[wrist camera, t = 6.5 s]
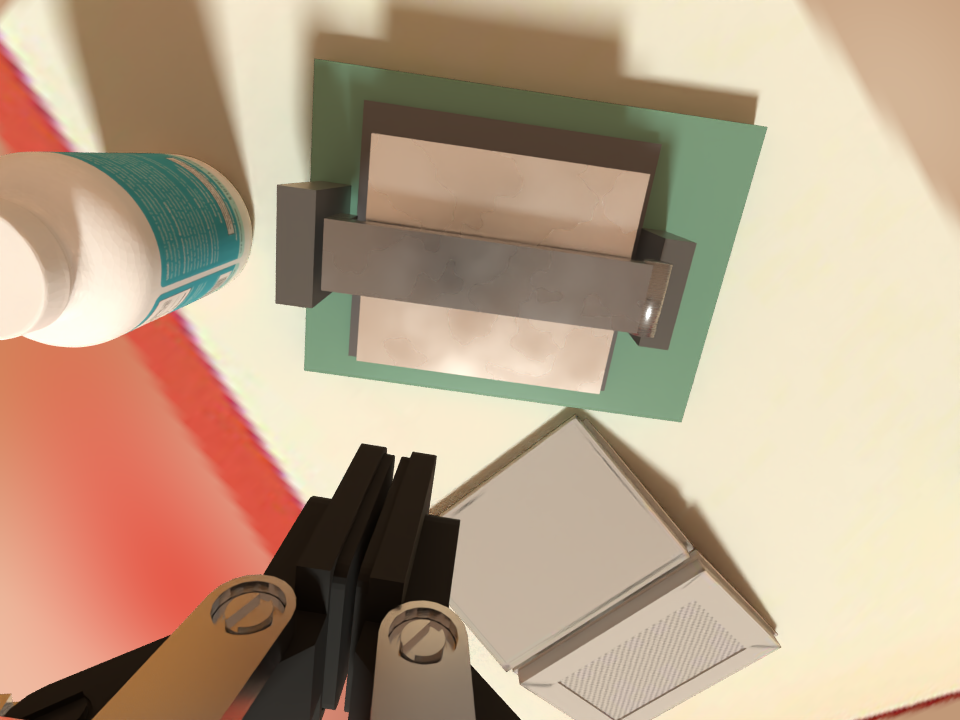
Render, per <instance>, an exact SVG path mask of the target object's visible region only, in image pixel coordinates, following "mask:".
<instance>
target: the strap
mask: <svg viewBox="0 0 960 720" xmlns="http://www.w3.org/2000/svg"><path fill="white" fill-rule="evenodd" d="M672 267H673V264H671V263H668V262H665V261H660V260H654V259H644V261H642V260H635V259H628V258H621V257H614V256H607V255H600V254H593V253H586V252H579V251H572V250H565V249H558V248H551V247H544V246H537V245H530V244H523V243H516V242H509V241H502V240H495V239H488V238H481V237H474V236H467V235H460V234H453V233H446V232H439V231H432V230H425V229H418V228H411V227H404V226H397V225H389V224H382V223H375V222H368V221H361V220H358V215H351V214H344V213H338V214H335V215H332V216H329V217H326V218H324V231H323V255H322V279H321V290H322V291H329V292H337V293H344V294H351V295H358V296H366V297H373V298H380V299H388V300H395V301H402V302H409V303H417V304H424V305H431V306H438V307H446V308H453V309H460V310H468V311H475V312H482V313H489V314H497V315H504V316H511V317H518V318H526V319H533V320H540V321H548V322H555V323H562V324H569V325H577V326H584V327H591V328H598V329H606V330H613V331H620V332H628V333H630V334H632V335H635V336H638V337H643V338H654V336H655V333H656V329H657V325H658V321H659V317H660V313H661V309H662V305H663V302H664V298H665V294H666V290H667V286H668V282H669V278H670V274H671V271H672Z"/></svg>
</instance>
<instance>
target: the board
mask: <svg viewBox="0 0 960 720" xmlns="http://www.w3.org/2000/svg"><path fill="white" fill-rule="evenodd" d="M766 130H767V127H764V126H758V125H751V124H744V123H738V122H731V121H724V120H718V119H711V118H705V117H698V116H691V115H685V114H678V113H671V112H665V111H658V110H652V109H645V108H638V107H632V106H625V105H618V104H612V103H605V102H599V101H592V100H585V99H579V98H572V97H566V96H559V95H552V94H546V93H539V92H532V91H526V90H519V89H513V88H506V87H499V86H493V85H486V84H479V83H473V82H466V81H460V80H453V79H446V78H440V77H433V76H426V75H420V74H413V73H407V72H400V71H393V70H387V69H380V68H374V67H367V66H360V65H354V64H347V63H340V62H334V61H327V60H321V59H314V87H313V117H312V148H311V179H310V182H301V183H291V184H280V185H277V229H276V304H284V305H291V306H298V307H305V308H306V332H305V362H304V370H305V371H312V372H319V373H327V374H334V375H341V376H348V377H356V378H363V379H370V380H377V381H385V382H392V383H399V384H406V385H414V386H421V387H428V388H435V389H443V390H450V391H457V392H465V393H472V394H479V395H486V396H494V397H501V398H508V399H515V400H523V401H530V402H537V403H544V404H552V405H559V406H566V407H573V408H581V409H588V410H595V411H603V412H610V413H617V414H624V415H632V416H639V417H646V418H653V419H661V420H668V421H675V422H682V418H683V415H684V412H685V408H686V405H687V401H688V398H689V394H690V391H691V388H692V384H693V381H694V377H695V374H696V370H697V367H698V364H699V360H700V357H701V353H702V350H703V346H704V343H705V340H706V336H707V333H708V329H709V326H710V322H711V319H712V316H713V312H714V309H715V305H716V302H717V298H718V295H719V292H720V288H721V285H722V281H723V278H724V274H725V271H726V268H727V264H728V261H729V257H730V254H731V250H732V247H733V244H734V240H735V237H736V233H737V230H738V226H739V223H740V220H741V216H742V213H743V209H744V206H745V202H746V199H747V196H748V192H749V189H750V185H751V182H752V178H753V175H754V172H755V168H756V165H757V161H758V158H759V154H760V151H761V148H762V144H763V141H764V137H765V134H766ZM338 213H344V214H351V215H358V220H361V221H368V222H375V223H382V224H389V225H397V226H404V227H411V228H418V229H425V230H432V231H439V232H446V233H453V234H460V235H467V236H474V237H481V238H488V239H495V240H502V241H509V242H516V243H523V244H530V245H537V246H544V247H551V248H558V249H565V250H572V251H579V252H586V253H593V254H600V255H607V256H614V257H621V258H628V259H635V260H642V261H644V259H654V260H660V261H665V262H668V263H671V264H673V267H672V271H671V274H670V278H669V282H668V286H667V290H666V294H665V298H664V302H663V305H662V309H661V313H660V317H659V321H658V325H657V329H656V333H655V336H654V338H643V337H638V336H635V335H632V334H630V333H628V332H620V331H613V330H606V329H598V328H591V327H584V326H577V325H569V324H562V323H555V322H548V321H540V320H533V319H526V318H518V317H511V316H504V315H497V314H489V313H482V312H475V311H468V310H460V309H453V308H446V307H438V306H431V305H424V304H417V303H409V302H402V301H395V300H388V299H380V298H373V297H366V296H358V295H351V294H344V293H337V292H329V291H322V290H321V279H322V255H323V231H324V218H326V217H329V216H332V215H335V214H338Z"/></svg>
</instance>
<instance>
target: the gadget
mask: <svg viewBox="0 0 960 720" xmlns="http://www.w3.org/2000/svg"><path fill="white" fill-rule="evenodd" d="M439 516H441V517H447V518H453V519H459V520H460V528H459V535H458V543H457V550H456V557H455V565H454V572H453V579H452V587H451V594H450V601H449V605H450V607H451V608H452V609H453V610H454V611H455V612H456V614H457V615H458V616H459V617H460V618H461V620H462V621H463V622H464V623H465V624H466V625H467V627H468V628H469V629H470V630H471V631H472V632H473V634H474V635H475V636H476V637H477V638H478V639H479V641H480V642H481V643H482V644H483V645H484V646H485V648H486V649H487V650H488V651H489V652H490V653H491V655H492V656H493V657H494V658H495V659H496V661H497V662H498V663H499V664H500V665H501V666H502V668H503V669H504V670H505V671H506V672H508V671H509V670H511V669H513V672H514V673H516V674H517V675H518V677H519V683H520V685H521V686H523V687H525V688H526V689H528V690H529V691H531V692H532V693H534V694H535V695H537V696H538V697H540V698H542V699H543V700H545V701H546V702H548V703H549V704H551V705H552V706H554V707H556V708H557V709H559V710H560V711H562V712H563V713H565V714H566V715H568V716H569V717H571V718H573V719H574V720H652V719H653V718H655V717H657V716H659V715H661V714H662V713H664V712H666V711H668V710H670V709H671V708H673V707H675V706H677V705H678V704H680V703H682V702H684V701H686V700H687V699H689V698H691V697H693V696H695V695H696V694H698V693H700V692H702V691H704V690H705V689H707V688H709V687H711V686H713V685H714V684H716V683H718V682H720V681H722V680H723V679H725V678H727V677H729V676H731V675H732V674H734V673H736V672H738V671H740V670H741V669H743V668H745V667H747V666H749V665H750V664H752V663H754V662H756V661H757V660H759V659H761V658H763V657H765V656H766V655H768V654H770V653H772V652H774V651H775V650H777V649H779V648H781V646H780V644H779V643H778V641H777V640H776V638H775V636H777V635H778V634H777V633H776V632H775V631H774V630H773V629H772V628H771V626H770V625H769V624H768V623H767V622H766V621H765V620H764V618H763V617H762V616H761V615H760V614H759V613H758V612H757V611H756V610H755V609H754V608H753V607H752V606H751V605H750V604H749V603H748V602H747V601H746V600H745V599H744V598H743V597H742V596H741V595H740V594H739V593H738V592H737V591H736V589H735V588H734V587H733V586H732V585H731V584H730V583H729V582H728V581H727V580H726V579H725V578H724V577H723V576H722V575H721V574H720V573H719V572H718V571H717V570H716V569H715V568H714V567H713V566H712V565H711V564H710V563H709V562H708V561H707V560H706V559H705V558H704V557H703V556H702V555H701V554H700V553H699V552H698V551H697V549H696V550H694V551H692V552H691V553H689V552H690V551H691V550H693V549H694V547H693V545H692V544H691V543H690V541H689V540H688V539H687V538H686V536H685V535H684V534H683V533H682V532H681V530H680V529H679V528H678V527H677V526H676V524H675V523H674V522H673V521H672V520H671V518H670V517H669V516H668V515H667V513H666V512H665V511H664V510H663V509H662V507H661V506H660V505H659V504H658V503H657V501H656V500H655V499H654V498H653V496H652V495H651V494H650V493H649V492H648V490H647V489H646V488H645V487H644V486H643V484H642V483H641V482H640V481H639V479H638V478H637V477H636V476H635V475H634V473H633V472H632V471H631V470H630V469H629V467H628V466H627V465H626V464H625V463H624V461H623V460H622V459H621V458H620V456H619V455H618V454H617V453H616V452H615V450H614V449H613V448H612V447H611V446H610V444H609V443H608V442H607V441H606V440H605V439H604V437H603V436H602V435H601V434H600V433H599V432H598V431H597V430H596V428H595V427H594V426H593V425H592V424H591V423H590V422H589V420H588V419H587V418H586V419H585V420H583V421H581V420H580V419H579V418H578V416H577V415H576V414H575V415H574V416H572V417H571V418H570V419H568V420H567V421H566V422H564V423H563V424H562V425H560V426H559V427H558V428H556V429H555V430H553V431H552V432H551V433H549V434H548V435H547V436H545V437H544V438H543V439H541V440H540V441H539V442H537V443H536V444H535V445H533V446H532V447H531V448H529V449H528V450H527V451H525V452H524V453H522V454H521V455H520V456H518V457H517V458H516V459H514V460H513V461H512V462H510V463H509V464H508V465H506V466H505V467H504V468H502V469H501V470H500V471H498V472H497V473H496V474H494V475H493V476H491V477H490V478H489V479H487V480H486V481H485V482H483V483H482V484H481V485H479V486H478V487H477V488H475V489H474V490H473V491H471V492H470V493H469V494H467V495H466V496H465V497H463V498H462V499H460V500H459V501H458V502H456V503H455V504H454V505H452V506H451V507H450V508H448V509H447V510H446V511H444V512H443V513H442V514H440V515H439Z"/></svg>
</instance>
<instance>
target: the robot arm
mask: <svg viewBox="0 0 960 720" xmlns="http://www.w3.org/2000/svg"><path fill="white" fill-rule="evenodd" d="M436 458H437V456H436V455H430V454H424V453H418V452H412V454H411V457H410V458H408V457H401V460H400V463H399V465H398V468H397V471H396V473H395V476H394V479H393V471H394V463H395V455H389V454H387V448H386V447H381V446H374V445H368V444H361V445H360V447H359V449H358V451H357V453H356V455H355V456H354V458H353V460H352V462H351V464H350V466H349V468H348V470H347V471H346V473H345V475H344V477H343V479H342V481H341V483H340V484H339V486H338V488H337V490H336V492H335V494H334V496H333V498H332V499H329V498H323V497H317V496H312V497H311V498H310V499H309V500H308V501H307V503H306V505H305V506H304V508H303V510H302V511H301V513H300V515H299V516H298V518H297V520H296V521H295V523H294V525H293V526H292V528H291V530H290V531H289V533H288V535H287V536H286V538H285V540H284V541H283V543H282V544H281V546H280V548H279V549H278V551H277V553H276V554H275V556H274V558H273V559H272V561H271V563H270V564H269V566H268V568H267V569H266V571H265V573H264V574H263V575H261V574H260V575H247V576H243V577H239V578H235V579H232V580H230V581H229V582H226V583H224V584H222V585H220V586H219V587H218V588H216V589H215V590H214V591H213V592H211V593H210V594H209V595H208V596H207V597H206V598H205V599H204V601H202V603H201V604H200V605H199V606H198V607H197V608H196V609H195V610H194V611H193V612H192V613H191V614H190V615H189V616H188V618H187V619H186V620H185V621H184V622H183V623H182V624H181V625H180V626H179V627H178V628H177V629H176V630H175V631H174V632H173V633H172V635H169V636H167V637H164V638H162V639H159V640H157V641H155V642H152V643H150V644H147V645H145V646H142V647H140V648H137V649H135V650H133V651H130V652H128V653H125V654H123V655H120V656H118V657H115V658H113V659H111V660H108V661H106V662H103V663H101V664H99V665H96V666H94V667H91V668H88V669H86V670H84V671H81V672H79V673H76V674H74V675H71V676H69V677H66V678H64V679H62V680H59V681H57V682H54V683H52V684H49V685H47V686H45V687H43V688H41V689H39V690H37V691H35V692H33V693H31V694H30V695H28V696H26V697H25V698H24V699H22V700H21V701H20V702H13V700H12V694H0V720H322V717H323V714H324V711H325V709H332V710H335V709H336V707H337V705H338V702H339V699H340V695H341V693H342V690H343V686H344V683H345V680H346V677H347V686H346V697H345V707H344V711H345V712H349V717H348V720H521V719H520V718H519V717H518V716H517V715H516V714H515V713H514V712H513V711H512V709H511V708H510V707H509V706H508V705H507V704H506V703H505V702H504V701H503V700H502V698H501V697H500V696H499V695H498V694H497V693H496V692H495V691H494V690H493V689H492V688H491V686H490V685H489V684H488V683H487V682H486V681H485V680H484V679H483V678H482V677H481V675H480V674H479V673H478V672H477V671H476V670H475V669H474V668H473V667H472V666H471V665H470V655H469V644H468V635H467V632H466V628H465V625H464V623H463V622H462V621H461V619H460V618H459V616H458V615H457V614H455V613H454V612H453V611H452V610H450V609H449V601H450V594H451V587H452V579H453V572H454V565H455V557H456V550H457V543H458V535H459V528H460V520H459V519H453V518H447V517H441V516H434V515H428V514H429V507H430V500H431V493H432V486H433V479H434V473H435V466H436ZM392 480H393V481H392ZM347 674H348V676H347Z"/></svg>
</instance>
